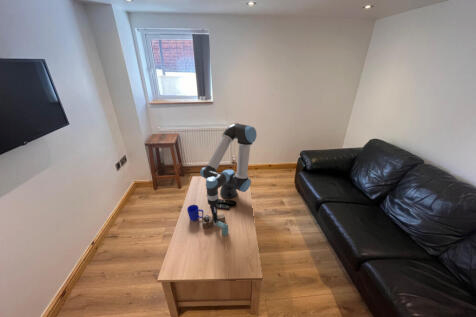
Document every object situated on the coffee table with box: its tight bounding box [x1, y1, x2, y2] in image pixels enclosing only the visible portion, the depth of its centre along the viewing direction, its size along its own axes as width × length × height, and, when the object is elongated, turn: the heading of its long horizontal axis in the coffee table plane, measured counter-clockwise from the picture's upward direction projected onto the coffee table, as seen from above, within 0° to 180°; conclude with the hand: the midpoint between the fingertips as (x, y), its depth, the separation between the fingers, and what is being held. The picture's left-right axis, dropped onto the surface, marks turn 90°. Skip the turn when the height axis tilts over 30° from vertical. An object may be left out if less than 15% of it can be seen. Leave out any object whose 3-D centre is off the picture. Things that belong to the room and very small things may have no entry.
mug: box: [186, 204, 204, 222], centre depth 145 cm, size 8×12×10 cm
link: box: [201, 213, 226, 230], centre depth 142 cm, size 16×6×5 cm, turn 107°
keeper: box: [215, 221, 229, 237], centre depth 133 cm, size 4×8×7 cm, turn 57°
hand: (214, 222), depth 143 cm, fingers open, 4 cm apart
